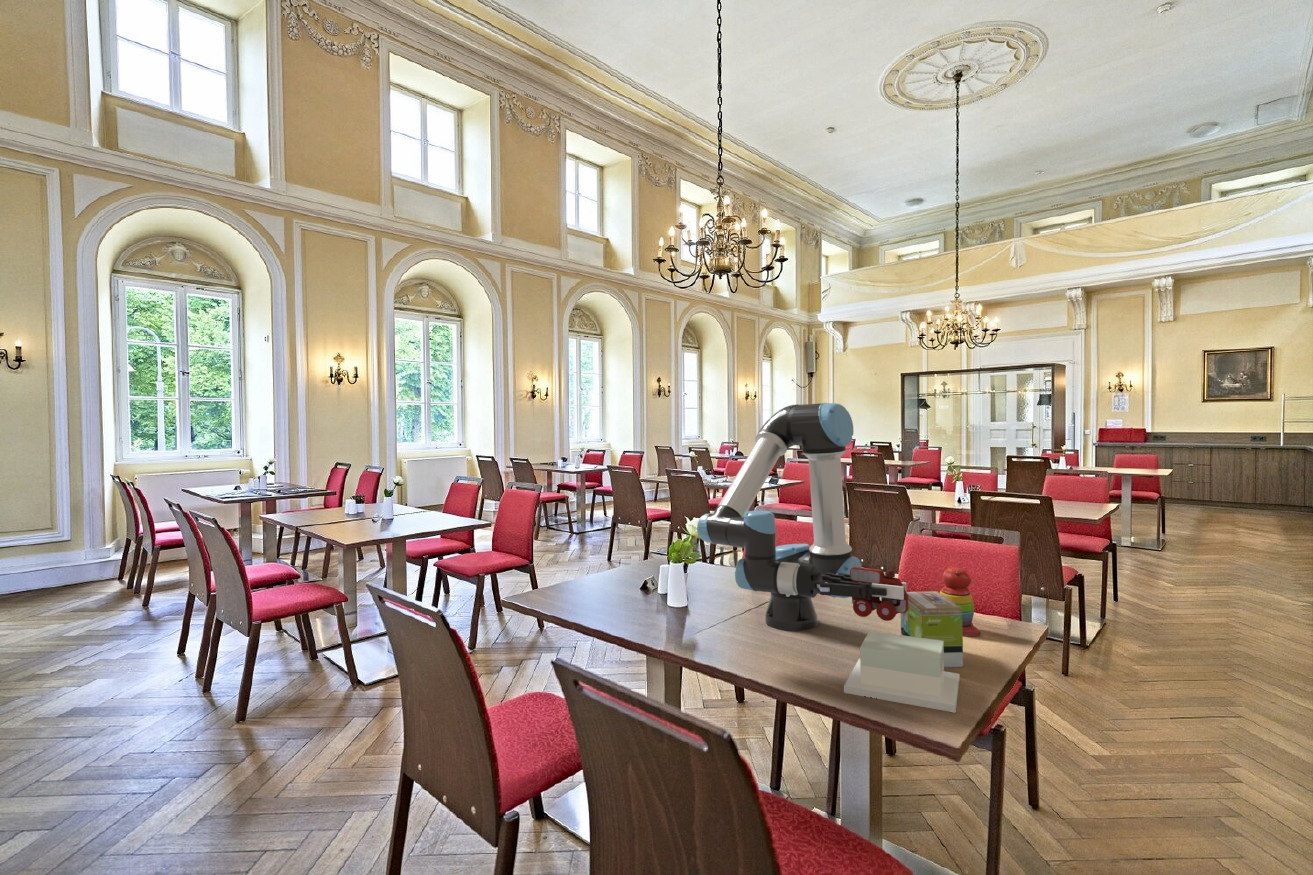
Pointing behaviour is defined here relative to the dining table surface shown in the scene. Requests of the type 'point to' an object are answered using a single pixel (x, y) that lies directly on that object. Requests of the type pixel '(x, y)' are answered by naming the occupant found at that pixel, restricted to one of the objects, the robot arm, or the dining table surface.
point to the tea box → (935, 623)
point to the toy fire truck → (883, 607)
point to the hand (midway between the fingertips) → (904, 591)
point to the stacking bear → (960, 597)
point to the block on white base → (904, 672)
